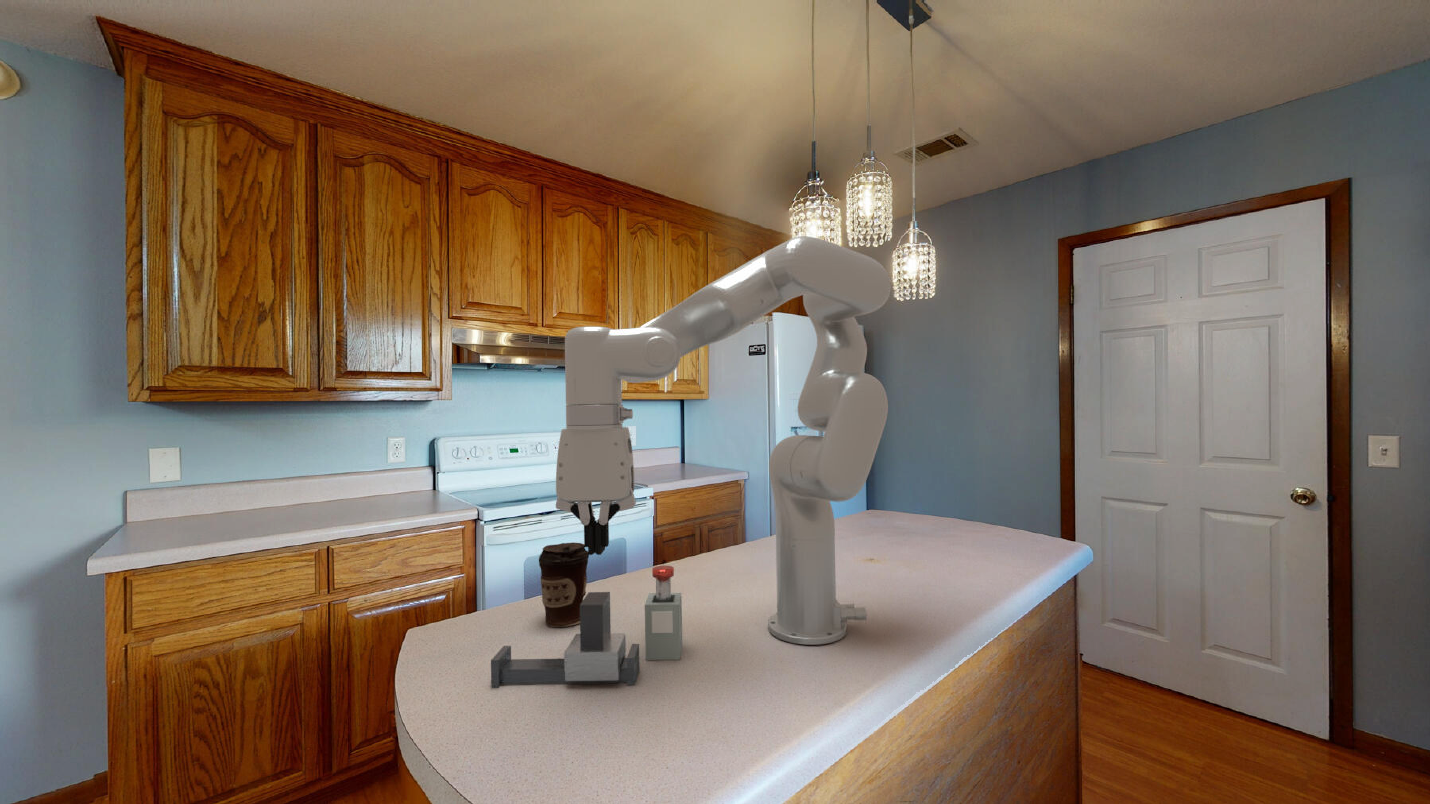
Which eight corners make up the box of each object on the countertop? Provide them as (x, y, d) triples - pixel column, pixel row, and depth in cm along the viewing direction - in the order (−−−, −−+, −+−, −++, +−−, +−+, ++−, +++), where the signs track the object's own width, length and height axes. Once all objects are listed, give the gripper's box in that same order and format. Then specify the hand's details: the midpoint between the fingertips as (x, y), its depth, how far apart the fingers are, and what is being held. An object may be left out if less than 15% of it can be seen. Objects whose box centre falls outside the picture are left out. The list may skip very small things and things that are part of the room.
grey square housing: (682, 644, 85) (681, 592, 85) (679, 660, 80) (679, 604, 80) (649, 645, 85) (649, 593, 85) (645, 660, 80) (644, 605, 80)
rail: (639, 669, 77) (639, 643, 77) (634, 685, 73) (634, 658, 73) (504, 671, 77) (503, 645, 77) (491, 687, 73) (490, 660, 73)
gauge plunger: (675, 611, 84) (674, 565, 84) (673, 619, 81) (672, 571, 81) (654, 611, 84) (653, 565, 84) (651, 619, 81) (651, 571, 81)
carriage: (625, 659, 78) (624, 590, 78) (618, 681, 72) (616, 605, 72) (576, 660, 78) (575, 591, 78) (564, 681, 72) (563, 606, 72)
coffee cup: (575, 633, 90) (574, 553, 90) (529, 630, 92) (527, 552, 92) (597, 613, 98) (596, 540, 99) (554, 610, 100) (553, 539, 100)
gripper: (652, 416, 79) (654, 544, 79) (548, 418, 79) (550, 546, 79) (645, 417, 72) (648, 558, 71) (530, 419, 72) (533, 561, 72)
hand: (596, 551), depth 75 cm, fingers closed
